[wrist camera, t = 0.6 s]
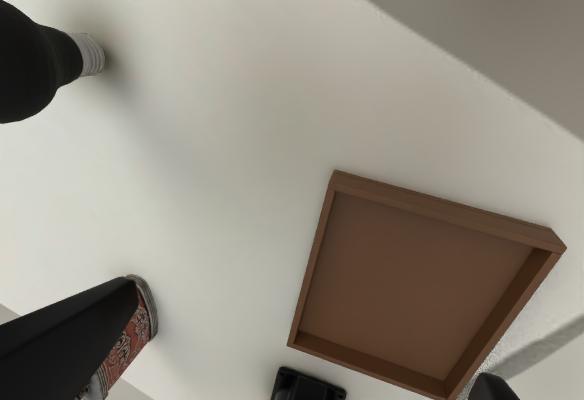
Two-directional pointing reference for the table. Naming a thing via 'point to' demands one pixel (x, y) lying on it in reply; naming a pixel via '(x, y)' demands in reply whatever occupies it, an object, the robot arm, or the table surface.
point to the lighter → (125, 345)
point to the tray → (414, 284)
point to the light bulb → (39, 63)
